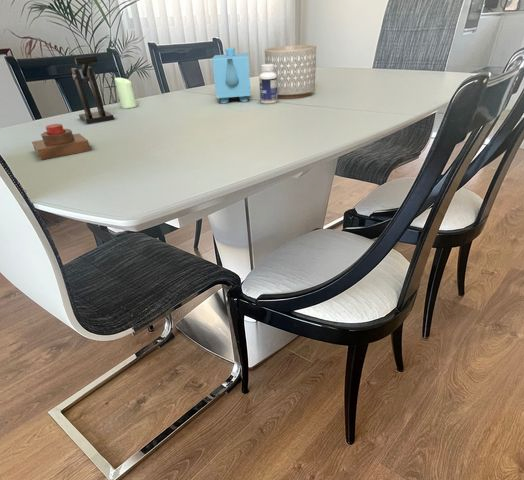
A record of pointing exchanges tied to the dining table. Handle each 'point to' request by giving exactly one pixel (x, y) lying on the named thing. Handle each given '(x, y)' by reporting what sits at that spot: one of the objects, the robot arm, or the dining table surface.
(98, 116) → the bracket
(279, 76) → the planter
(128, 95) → the candle
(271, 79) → the pill bottle
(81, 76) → the lever
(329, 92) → the dining table surface
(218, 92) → the blue teardrop bottle box
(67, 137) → the button block
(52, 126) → the button
